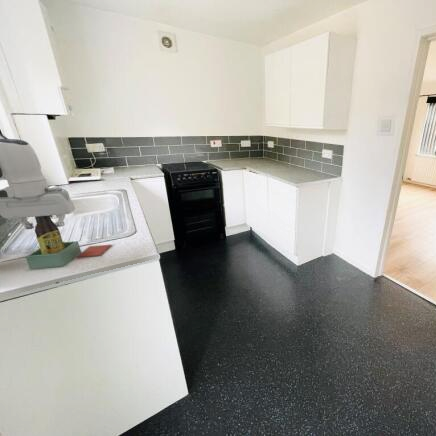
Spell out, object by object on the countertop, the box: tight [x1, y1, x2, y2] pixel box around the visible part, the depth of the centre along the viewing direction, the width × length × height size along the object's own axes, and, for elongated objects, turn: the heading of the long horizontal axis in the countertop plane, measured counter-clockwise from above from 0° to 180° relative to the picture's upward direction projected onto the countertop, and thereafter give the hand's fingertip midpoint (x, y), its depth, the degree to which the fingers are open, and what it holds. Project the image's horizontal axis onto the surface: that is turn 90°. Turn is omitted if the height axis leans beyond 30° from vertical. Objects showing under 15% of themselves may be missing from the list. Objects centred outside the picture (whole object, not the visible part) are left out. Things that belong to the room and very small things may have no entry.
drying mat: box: [76, 244, 112, 259], centre depth 98 cm, size 8×9×1 cm
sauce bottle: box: [34, 215, 65, 255], centre depth 88 cm, size 6×6×20 cm
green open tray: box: [24, 240, 82, 270], centre depth 91 cm, size 10×11×5 cm
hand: (45, 227), depth 87 cm, fingers open, 8 cm apart
